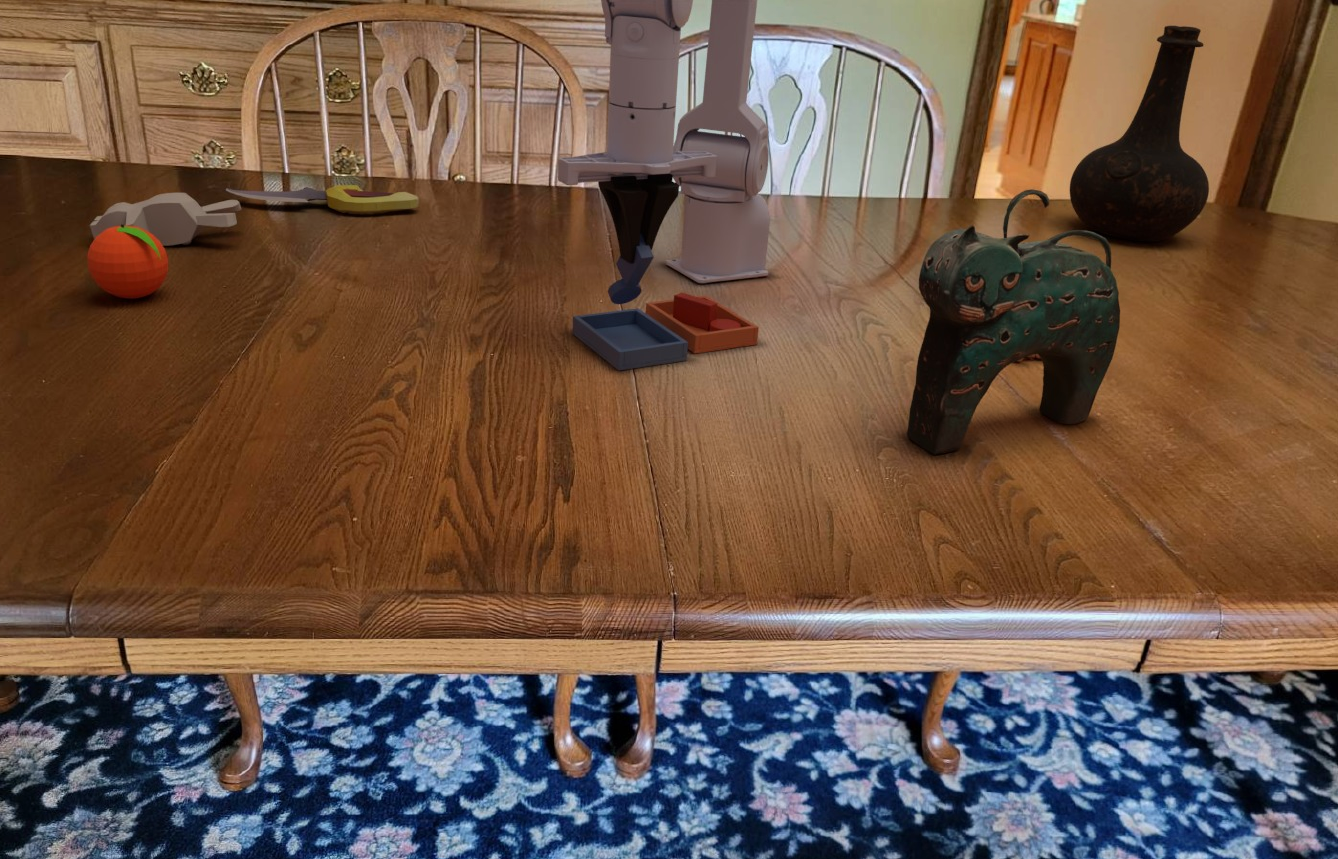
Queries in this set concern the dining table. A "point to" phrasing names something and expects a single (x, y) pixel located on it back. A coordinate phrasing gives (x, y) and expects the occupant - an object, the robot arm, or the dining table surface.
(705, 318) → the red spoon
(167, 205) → the bunny figurine
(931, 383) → the ceramic cat
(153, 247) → the clementine
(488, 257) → the dining table surface
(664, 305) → the red tray
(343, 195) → the knife
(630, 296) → the blue stepped block
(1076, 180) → the glass bottle
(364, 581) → the dining table surface
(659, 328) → the blue tray
